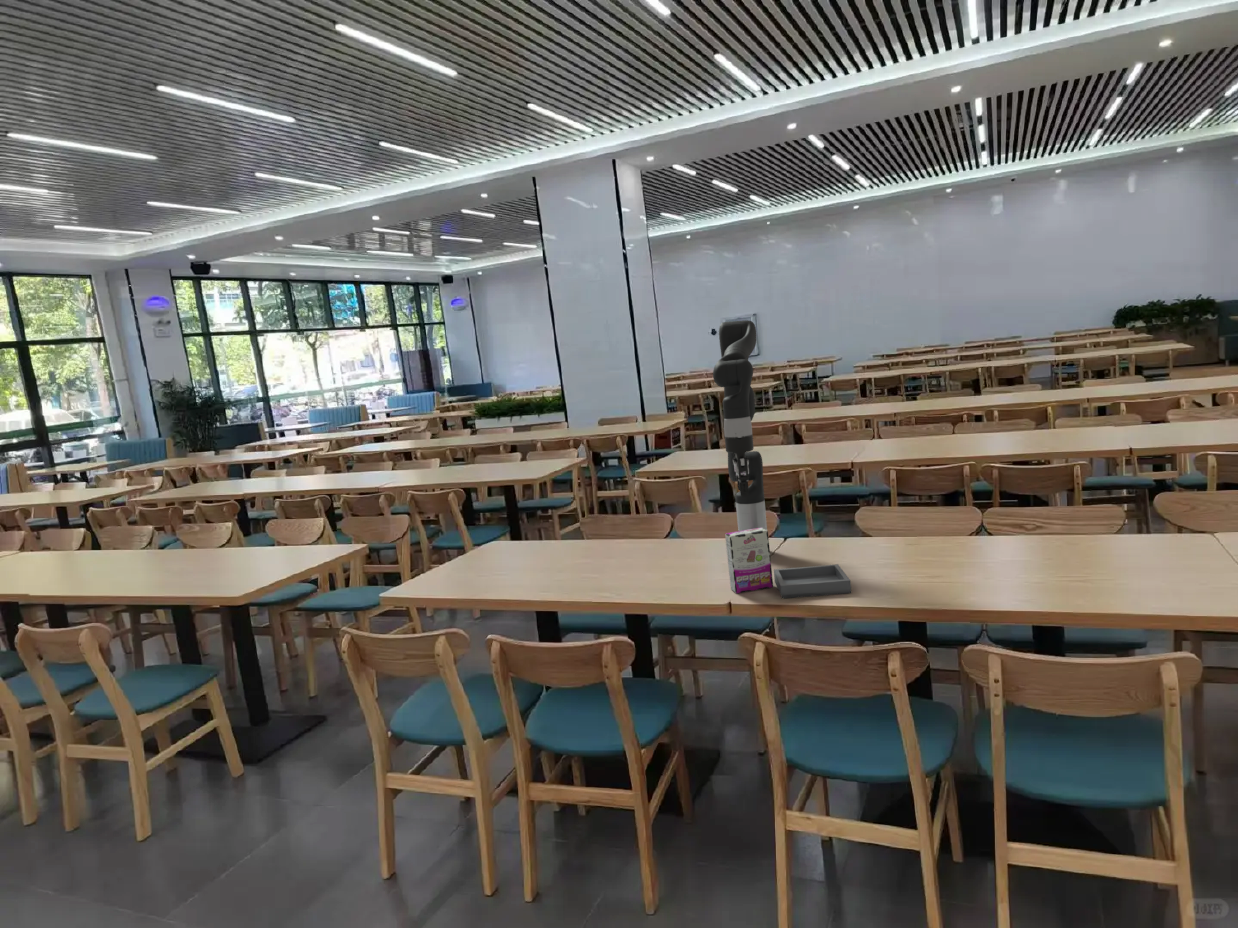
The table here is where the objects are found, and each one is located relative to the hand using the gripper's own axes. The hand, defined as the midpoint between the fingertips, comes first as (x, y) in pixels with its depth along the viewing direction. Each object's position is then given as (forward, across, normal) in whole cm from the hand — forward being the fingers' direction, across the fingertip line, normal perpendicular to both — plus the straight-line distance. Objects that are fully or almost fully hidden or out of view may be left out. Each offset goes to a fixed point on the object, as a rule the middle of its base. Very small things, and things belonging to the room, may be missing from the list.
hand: (743, 492), depth 218 cm
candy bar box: (+27, 0, 0) cm, 27 cm away
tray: (+27, +3, +16) cm, 32 cm away
